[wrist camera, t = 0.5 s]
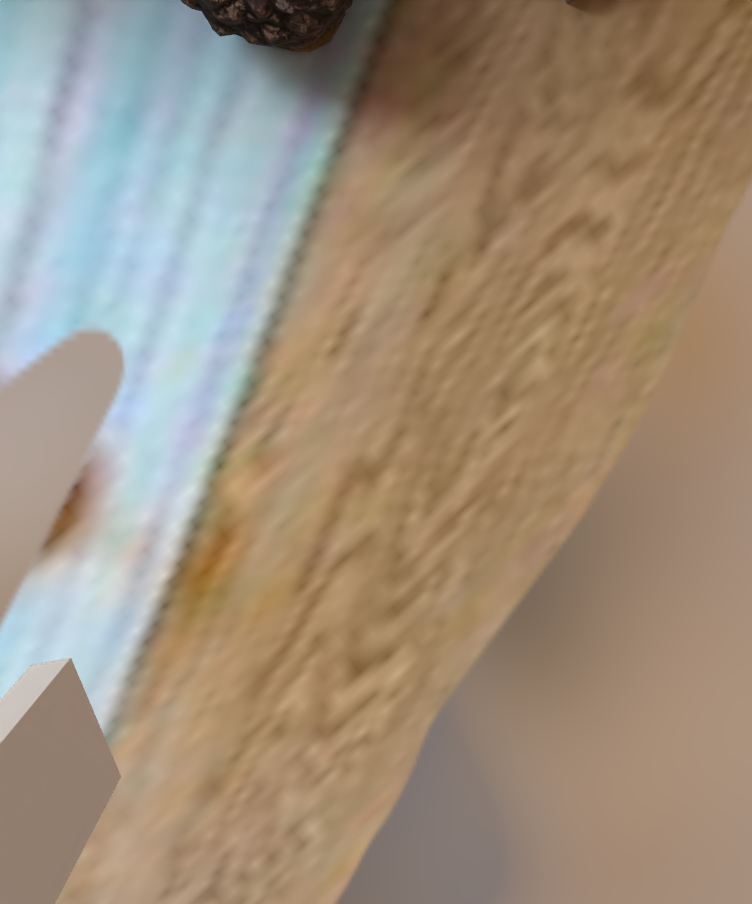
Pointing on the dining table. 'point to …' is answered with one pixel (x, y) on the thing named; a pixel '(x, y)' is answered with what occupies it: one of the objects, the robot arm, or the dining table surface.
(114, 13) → the dining table surface
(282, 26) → the pine cone
